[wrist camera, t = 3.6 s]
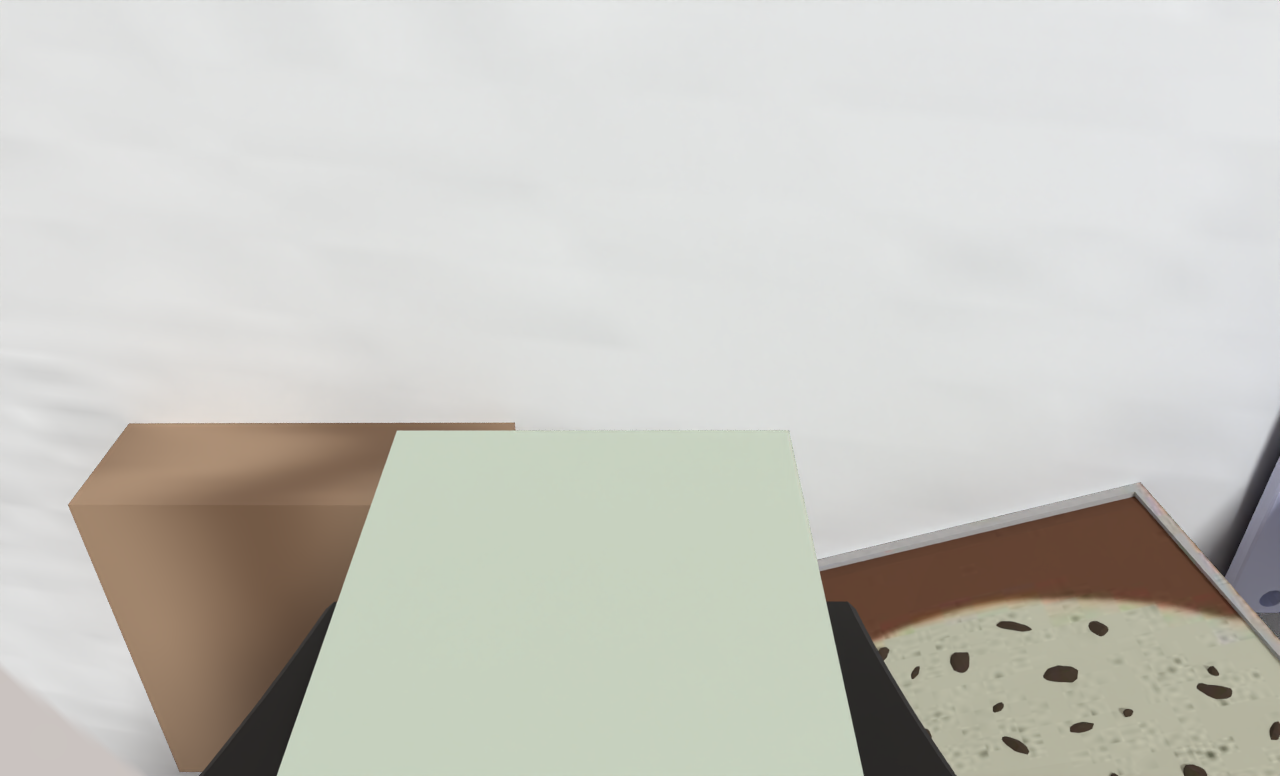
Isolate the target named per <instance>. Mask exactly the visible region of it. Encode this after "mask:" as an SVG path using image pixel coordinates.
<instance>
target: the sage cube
mask: <svg viewBox="0 0 1280 776" xmlns="http://www.w3.org/2000/svg"><path fill="white" fill-rule="evenodd" d="M277 776H864V774H863V770H862V765H861V760H860V756H859V751H858V747H857V742H856V737H855V733H854V728H853V724H852V719H851V714H850V710H849V705H848V701H847V696H846V691H845V687H844V682H843V677H842V673H841V668H840V664H839V659H838V654H837V650H836V645H835V641H834V636H833V631H832V627H831V622H830V618H829V613H828V608H827V604H826V599H825V594H824V590H823V585H822V581H821V576H820V571H819V567H818V562H817V558H816V553H815V548H814V544H813V539H812V534H811V530H810V525H809V521H808V516H807V511H806V507H805V502H804V498H803V493H802V488H801V484H800V479H799V475H798V470H797V465H796V461H795V456H794V451H793V447H792V442H791V438H790V433H789V430H659V431H397V432H396V435H395V438H394V441H393V443H392V446H391V449H390V452H389V455H388V458H387V461H386V464H385V466H384V469H383V472H382V475H381V478H380V481H379V484H378V487H377V489H376V492H375V495H374V498H373V501H372V504H371V507H370V509H369V512H368V515H367V518H366V521H365V524H364V527H363V530H362V532H361V535H360V538H359V541H358V544H357V547H356V550H355V553H354V555H353V558H352V561H351V564H350V567H349V570H348V573H347V575H346V578H345V581H344V584H343V587H342V590H341V593H340V596H339V598H338V601H337V604H336V607H335V610H334V613H333V616H332V619H331V621H330V624H329V627H328V630H327V633H326V636H325V639H324V642H323V644H322V647H321V650H320V653H319V656H318V659H317V662H316V664H315V667H314V670H313V673H312V676H311V679H310V682H309V685H308V687H307V690H306V693H305V696H304V699H303V702H302V705H301V708H300V710H299V713H298V716H297V719H296V722H295V725H294V728H293V731H292V733H291V736H290V739H289V742H288V745H287V748H286V751H285V753H284V756H283V759H282V762H281V765H280V768H279V771H278V774H277Z"/></svg>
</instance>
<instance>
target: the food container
mask: <svg viewBox="0 0 1280 776" xmlns="http://www.w3.org/2000/svg"><path fill="white" fill-rule="evenodd" d="M817 562H818V567H819V571H820V576H821V581H822V585H823V590H824V594H825V599H826V601H848V602H849V603H850V604H851V605H852V606H853V607H854V608H855V609H856V610H857V612H858V614H859V616H860V618H861V620H862V622H863V624H864V626H865V628H866V630H867V632H868V633H869V635H870V637H871V639H872V641H873V643H874V644H875V646H876V648H877V650H878V652H879V653H880V655H881V657H882V659H883V660H884V662H885V664H886V666H887V667H888V669H889V671H890V673H891V674H892V676H893V678H894V679H895V681H896V683H897V684H898V686H899V688H900V689H901V691H902V692H903V694H904V696H905V697H906V699H907V701H908V702H909V704H910V706H911V707H912V709H913V710H914V712H915V714H916V715H917V717H918V718H919V720H920V721H921V723H922V725H923V726H924V728H925V729H926V731H927V732H928V734H929V735H930V737H931V738H932V740H933V741H934V743H935V744H936V746H937V747H938V749H939V750H940V752H941V753H942V755H943V756H944V758H945V759H946V761H947V762H948V764H949V765H950V767H951V768H952V769H953V771H954V772H955V774H956V775H957V776H1280V640H1279V639H1278V637H1277V636H1276V635H1275V634H1274V633H1273V632H1272V631H1271V630H1270V628H1269V627H1268V626H1267V625H1266V624H1265V623H1264V622H1263V621H1262V619H1261V618H1260V617H1259V616H1258V615H1257V614H1256V613H1255V611H1254V610H1253V609H1252V608H1251V607H1250V606H1249V605H1248V604H1247V602H1246V601H1245V600H1244V599H1243V598H1242V597H1241V596H1240V595H1239V593H1238V592H1237V591H1236V590H1235V589H1234V588H1233V587H1232V585H1231V584H1230V583H1229V582H1228V581H1227V580H1226V579H1225V578H1224V576H1223V575H1222V574H1221V573H1220V572H1219V571H1218V570H1217V568H1216V567H1215V566H1214V565H1213V564H1212V563H1211V562H1210V561H1209V559H1208V558H1207V557H1206V556H1205V555H1204V554H1203V553H1202V552H1201V550H1200V549H1199V548H1198V547H1197V546H1196V545H1195V544H1194V542H1193V541H1192V540H1191V539H1190V538H1189V537H1188V536H1187V535H1186V533H1185V532H1184V531H1183V530H1182V529H1181V528H1180V527H1179V526H1178V524H1177V523H1176V522H1175V521H1174V520H1173V519H1172V518H1171V516H1170V515H1169V514H1168V513H1167V512H1166V511H1165V510H1164V509H1163V507H1162V506H1161V505H1160V504H1159V503H1158V502H1157V501H1156V499H1155V498H1154V497H1153V496H1152V495H1151V494H1150V493H1149V492H1148V490H1147V489H1146V488H1145V487H1144V486H1143V485H1142V484H1141V483H1136V484H1131V485H1127V486H1123V487H1119V488H1115V489H1111V490H1106V491H1102V492H1098V493H1094V494H1090V495H1086V496H1081V497H1077V498H1073V499H1069V500H1065V501H1061V502H1056V503H1052V504H1048V505H1044V506H1040V507H1036V508H1031V509H1027V510H1023V511H1019V512H1015V513H1011V514H1006V515H1002V516H998V517H994V518H990V519H986V520H981V521H977V522H973V523H969V524H965V525H961V526H956V527H952V528H948V529H944V530H940V531H936V532H931V533H927V534H923V535H919V536H915V537H911V538H906V539H902V540H898V541H894V542H890V543H886V544H881V545H877V546H873V547H869V548H865V549H861V550H856V551H852V552H848V553H844V554H840V555H836V556H831V557H827V558H823V559H819V560H817Z"/></svg>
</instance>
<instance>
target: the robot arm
mask: <svg viewBox="0 0 1280 776" xmlns="http://www.w3.org/2000/svg"><path fill="white" fill-rule="evenodd" d="M1225 579H1226V580H1227V581H1228V582H1229V583H1230V584H1231V585H1232V587H1233V588H1234V589H1235V590H1236V591H1237V592H1238V593H1239V595H1240V596H1241V597H1242V598H1243V599H1244V600H1245V601H1246V602H1247V604H1248V605H1249V606H1250V607H1251V608H1252V609H1253V610H1254V611H1255V613H1280V457H1279V459H1278V461H1277V464H1276V466H1275V468H1274V470H1273V472H1272V475H1271V477H1270V479H1269V481H1268V483H1267V486H1266V488H1265V490H1264V492H1263V494H1262V497H1261V499H1260V501H1259V503H1258V505H1257V508H1256V510H1255V512H1254V514H1253V516H1252V519H1251V521H1250V523H1249V525H1248V527H1247V530H1246V532H1245V534H1244V536H1243V539H1242V541H1241V543H1240V545H1239V547H1238V550H1237V552H1236V554H1235V556H1234V558H1233V561H1232V563H1231V565H1230V567H1229V569H1228V572H1227V574H1226V576H1225ZM336 604H337V602H333V603H332V604H331V605H330V606H329V607H328V608H326V609H325V611H324V612H323V614H322V615H321V617H320V618H319V619H318V621H317V622H316V624H315V625H314V626H313V628H312V629H311V631H310V632H309V633H308V635H307V636H306V638H305V639H304V640H303V642H302V643H301V645H300V646H299V647H298V649H297V650H296V652H295V653H294V654H293V656H292V657H291V658H290V660H289V661H288V663H287V664H286V665H285V667H284V668H283V669H282V671H281V672H280V673H279V675H278V676H277V677H276V679H275V680H274V681H273V683H272V684H271V685H270V687H269V688H268V689H267V691H266V692H265V693H264V695H263V696H262V697H261V699H260V700H259V701H258V703H257V704H256V705H255V707H254V708H253V709H252V710H251V712H250V713H249V714H248V715H247V717H246V718H245V719H244V720H243V722H242V723H241V724H240V726H239V727H238V728H237V729H236V731H235V732H234V733H233V734H232V736H231V737H230V738H229V739H228V741H227V742H226V743H225V744H224V746H223V747H222V748H221V749H220V751H219V752H218V753H217V754H216V756H215V757H214V758H213V759H212V761H211V762H210V763H209V764H208V766H207V767H206V768H205V769H204V771H203V772H202V773H201V774H200V775H199V776H277V774H278V771H279V768H280V765H281V762H282V759H283V756H284V753H285V751H286V748H287V745H288V742H289V739H290V736H291V733H292V731H293V728H294V725H295V722H296V719H297V716H298V713H299V710H300V708H301V705H302V702H303V699H304V696H305V693H306V690H307V687H308V685H309V682H310V679H311V676H312V673H313V670H314V667H315V664H316V662H317V659H318V656H319V653H320V650H321V647H322V644H323V642H324V639H325V636H326V633H327V630H328V627H329V624H330V621H331V619H332V616H333V613H334V610H335V607H336ZM826 604H827V608H828V613H829V618H830V622H831V627H832V631H833V636H834V641H835V645H836V650H837V654H838V659H839V664H840V668H841V673H842V677H843V682H844V687H845V691H846V696H847V701H848V705H849V710H850V714H851V719H852V724H853V728H854V733H855V737H856V742H857V747H858V751H859V756H860V760H861V765H862V770H863V774H864V776H957V775H956V774H955V772H954V771H953V769H952V768H951V767H950V765H949V764H948V762H947V761H946V759H945V758H944V756H943V755H942V753H941V752H940V750H939V749H938V747H937V746H936V744H935V743H934V741H933V740H932V738H931V737H930V735H929V734H928V732H927V731H926V729H925V728H924V726H923V725H922V723H921V721H920V720H919V718H918V717H917V715H916V714H915V712H914V710H913V709H912V707H911V706H910V704H909V702H908V701H907V699H906V697H905V696H904V694H903V692H902V691H901V689H900V688H899V686H898V684H897V683H896V681H895V679H894V678H893V676H892V674H891V673H890V671H889V669H888V667H887V666H886V664H885V662H884V660H883V659H882V657H881V655H880V653H879V652H878V650H877V648H876V646H875V644H874V643H873V641H872V639H871V637H870V635H869V633H868V632H867V630H866V628H865V626H864V624H863V622H862V620H861V618H860V616H859V614H858V612H857V610H856V609H855V608H854V607H853V606H852V605H851V604H850V603H849V602H848V601H826Z"/></svg>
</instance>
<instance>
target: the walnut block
mask: <svg viewBox="0 0 1280 776" xmlns="http://www.w3.org/2000/svg"><path fill="white" fill-rule="evenodd" d="M397 431H515V423H155V424H128V426H127V427H126V428H125V430H124V431H123V432H122V434H121V435H120V436H119V438H118V439H117V440H116V442H115V443H114V444H113V446H112V447H111V448H110V450H109V451H108V452H107V454H106V455H105V456H104V458H103V459H102V460H101V462H100V463H99V464H98V466H97V467H96V468H95V470H94V471H93V472H92V474H91V475H90V476H89V478H88V479H87V480H86V482H85V483H84V484H83V486H82V487H81V488H80V490H79V491H78V492H77V494H76V495H75V496H74V498H73V499H72V500H71V502H70V503H69V504H68V506H69V508H70V511H71V513H72V516H73V518H74V520H75V523H76V525H77V528H78V530H79V532H80V535H81V537H82V539H83V542H84V544H85V547H86V549H87V551H88V554H89V556H90V559H91V561H92V563H93V566H94V568H95V571H96V573H97V575H98V578H99V580H100V583H101V585H102V587H103V590H104V592H105V595H106V597H107V599H108V602H109V604H110V606H111V609H112V611H113V614H114V616H115V618H116V621H117V623H118V626H119V628H120V630H121V633H122V635H123V638H124V640H125V642H126V645H127V647H128V650H129V652H130V654H131V657H132V659H133V662H134V664H135V666H136V669H137V671H138V673H139V676H140V678H141V681H142V683H143V685H144V688H145V690H146V693H147V695H148V697H149V700H150V702H151V705H152V707H153V709H154V712H155V714H156V717H157V719H158V721H159V724H160V726H161V728H162V731H163V733H164V736H165V738H166V740H167V743H168V745H169V748H170V750H171V752H172V755H173V757H174V760H175V762H176V764H177V767H178V769H179V772H203V771H204V769H205V768H206V767H207V766H208V764H209V763H210V762H211V761H212V759H213V758H214V757H215V756H216V754H217V753H218V752H219V751H220V749H221V748H222V747H223V746H224V744H225V743H226V742H227V741H228V739H229V738H230V737H231V736H232V734H233V733H234V732H235V731H236V729H237V728H238V727H239V726H240V724H241V723H242V722H243V720H244V719H245V718H246V717H247V715H248V714H249V713H250V712H251V710H252V709H253V708H254V707H255V705H256V704H257V703H258V701H259V700H260V699H261V697H262V696H263V695H264V693H265V692H266V691H267V689H268V688H269V687H270V685H271V684H272V683H273V681H274V680H275V679H276V677H277V676H278V675H279V673H280V672H281V671H282V669H283V668H284V667H285V665H286V664H287V663H288V661H289V660H290V658H291V657H292V656H293V654H294V653H295V652H296V650H297V649H298V647H299V646H300V645H301V643H302V642H303V640H304V639H305V638H306V636H307V635H308V633H309V632H310V631H311V629H312V628H313V626H314V625H315V624H316V622H317V621H318V619H319V618H320V617H321V615H322V614H323V612H324V611H325V609H326V608H328V607H329V606H330V605H331V604H332V603H333V602H337V601H338V598H339V596H340V593H341V590H342V587H343V584H344V581H345V578H346V575H347V573H348V570H349V567H350V564H351V561H352V558H353V555H354V553H355V550H356V547H357V544H358V541H359V538H360V535H361V532H362V530H363V527H364V524H365V521H366V518H367V515H368V512H369V509H370V507H371V504H372V501H373V498H374V495H375V492H376V489H377V487H378V484H379V481H380V478H381V475H382V472H383V469H384V466H385V464H386V461H387V458H388V455H389V452H390V449H391V446H392V443H393V441H394V438H395V435H396V432H397Z"/></svg>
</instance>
